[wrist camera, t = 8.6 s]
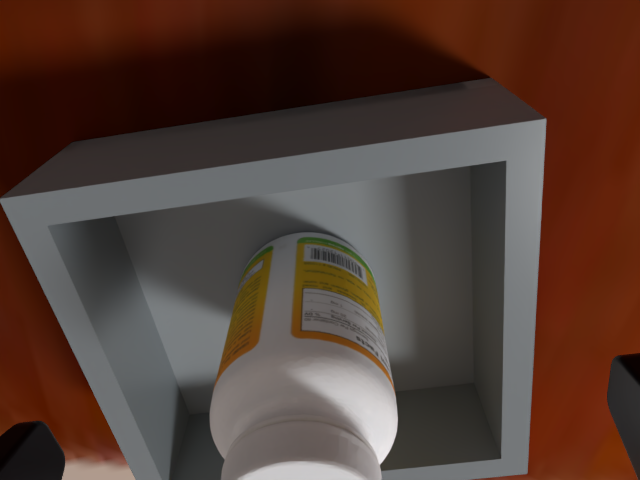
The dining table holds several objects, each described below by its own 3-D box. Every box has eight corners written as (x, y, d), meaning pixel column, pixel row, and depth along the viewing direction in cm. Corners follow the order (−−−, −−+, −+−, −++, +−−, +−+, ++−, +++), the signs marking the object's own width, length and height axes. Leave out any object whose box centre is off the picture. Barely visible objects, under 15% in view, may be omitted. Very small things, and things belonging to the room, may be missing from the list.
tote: (491, 77, 18) (546, 118, 14) (490, 380, 25) (527, 473, 20) (72, 142, 19) (-2, 198, 15) (179, 415, 26) (151, 511, 21)
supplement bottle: (266, 353, 23) (232, 596, 14) (220, 247, 20) (145, 466, 12) (389, 325, 22) (433, 564, 13) (357, 212, 19) (386, 417, 11)
